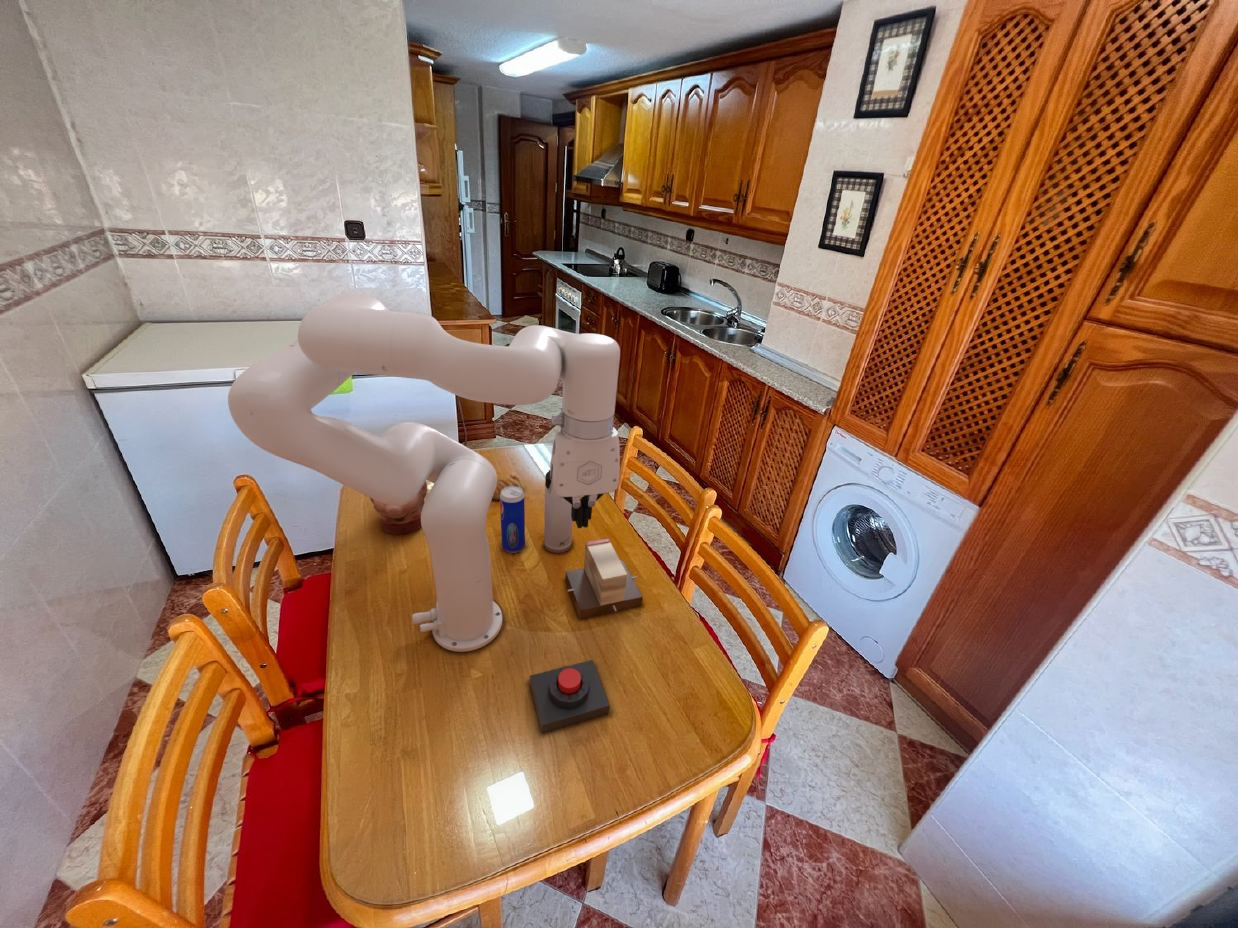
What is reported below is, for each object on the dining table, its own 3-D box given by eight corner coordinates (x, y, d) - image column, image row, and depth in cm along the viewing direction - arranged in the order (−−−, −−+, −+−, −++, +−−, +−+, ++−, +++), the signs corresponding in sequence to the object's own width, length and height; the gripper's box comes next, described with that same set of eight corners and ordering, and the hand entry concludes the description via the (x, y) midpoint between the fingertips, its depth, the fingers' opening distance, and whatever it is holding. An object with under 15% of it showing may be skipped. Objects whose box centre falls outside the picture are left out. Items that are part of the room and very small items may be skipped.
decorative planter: (374, 499, 123) (365, 450, 116) (426, 491, 128) (420, 444, 121) (375, 549, 108) (364, 497, 101) (435, 539, 113) (428, 488, 106)
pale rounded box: (624, 600, 98) (627, 573, 94) (600, 605, 96) (602, 578, 93) (606, 563, 107) (608, 537, 103) (583, 567, 105) (585, 541, 101)
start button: (561, 697, 78) (561, 690, 77) (555, 678, 81) (555, 671, 80) (583, 691, 79) (583, 684, 78) (576, 672, 82) (577, 665, 81)
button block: (541, 733, 76) (541, 718, 74) (529, 683, 83) (529, 668, 81) (608, 713, 80) (610, 698, 78) (592, 667, 87) (593, 652, 85)
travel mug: (568, 556, 111) (571, 481, 101) (540, 550, 112) (541, 476, 102) (576, 539, 117) (580, 466, 107) (549, 533, 118) (550, 461, 107)
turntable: (577, 628, 94) (578, 619, 93) (557, 574, 106) (558, 565, 105) (650, 612, 99) (651, 602, 98) (623, 562, 111) (624, 553, 110)
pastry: (497, 505, 125) (496, 492, 124) (481, 494, 129) (480, 482, 127) (526, 491, 132) (525, 479, 130) (509, 481, 135) (509, 469, 134)
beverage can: (497, 549, 111) (494, 494, 104) (510, 536, 116) (508, 482, 108) (517, 556, 110) (515, 501, 102) (529, 543, 114) (528, 489, 106)
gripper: (540, 437, 66) (538, 543, 76) (644, 430, 71) (631, 531, 80) (531, 413, 72) (531, 514, 82) (628, 408, 77) (617, 504, 86)
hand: (580, 522), depth 81 cm, fingers closed
